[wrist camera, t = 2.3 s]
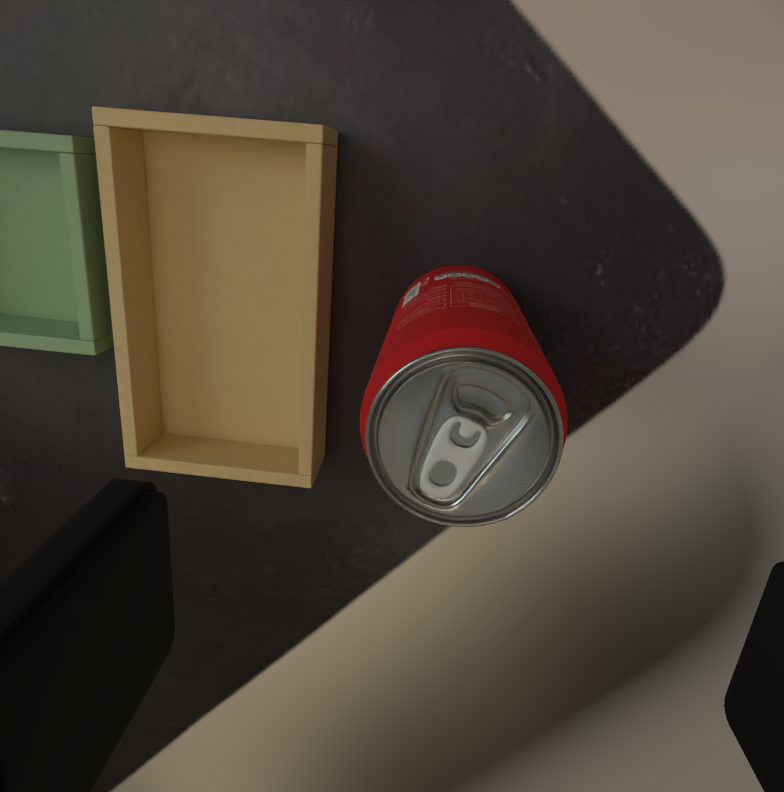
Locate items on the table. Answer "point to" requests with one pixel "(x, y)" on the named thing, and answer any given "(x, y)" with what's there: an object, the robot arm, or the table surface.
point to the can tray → (52, 245)
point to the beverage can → (462, 403)
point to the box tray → (219, 290)
